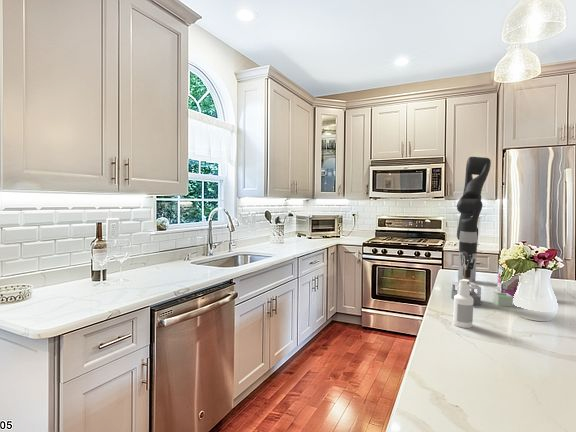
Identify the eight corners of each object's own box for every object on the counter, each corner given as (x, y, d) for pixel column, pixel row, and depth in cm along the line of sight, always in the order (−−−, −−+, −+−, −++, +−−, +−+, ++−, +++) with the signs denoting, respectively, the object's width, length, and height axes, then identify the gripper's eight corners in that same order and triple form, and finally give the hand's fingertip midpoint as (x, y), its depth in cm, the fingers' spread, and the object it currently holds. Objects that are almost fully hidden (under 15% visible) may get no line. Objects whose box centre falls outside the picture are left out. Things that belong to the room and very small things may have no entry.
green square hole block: (493, 301, 170) (493, 292, 170) (506, 302, 169) (507, 293, 169) (498, 305, 164) (498, 295, 164) (512, 306, 163) (512, 296, 163)
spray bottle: (464, 329, 135) (466, 282, 134) (449, 323, 141) (450, 278, 140) (476, 326, 138) (478, 280, 137) (460, 320, 144) (462, 277, 143)
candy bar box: (501, 296, 179) (502, 264, 178) (496, 293, 184) (498, 262, 183) (524, 297, 178) (526, 265, 177) (519, 294, 183) (521, 263, 181)
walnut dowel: (462, 289, 171) (463, 262, 171) (468, 289, 171) (469, 263, 170) (463, 291, 169) (465, 263, 168) (469, 291, 168) (471, 264, 168)
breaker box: (451, 297, 176) (451, 281, 175) (472, 298, 174) (473, 282, 174) (457, 303, 166) (458, 286, 166) (480, 305, 165) (481, 287, 164)
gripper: (455, 238, 176) (453, 273, 177) (464, 242, 162) (462, 280, 163) (471, 239, 175) (470, 274, 176) (482, 243, 161) (480, 280, 162)
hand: (466, 276), depth 169 cm, fingers closed on walnut dowel, 2 cm apart
